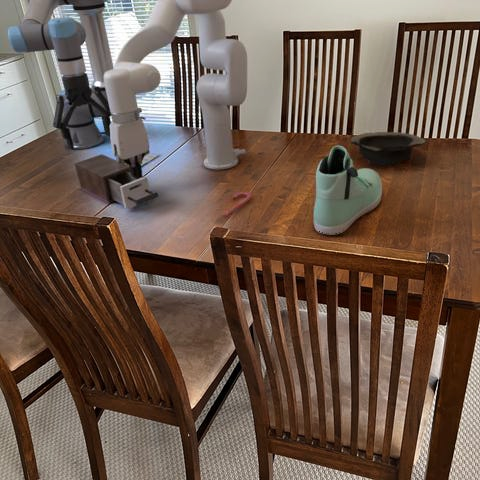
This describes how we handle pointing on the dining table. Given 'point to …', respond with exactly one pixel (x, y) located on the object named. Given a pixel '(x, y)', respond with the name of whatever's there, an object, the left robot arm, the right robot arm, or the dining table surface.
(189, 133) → the dining table surface
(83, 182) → the taupe rectangular box
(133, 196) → the drawer
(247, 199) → the candy cane
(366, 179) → the sneaker
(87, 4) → the left robot arm
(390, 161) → the stone bowl
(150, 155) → the baking ingredient package
